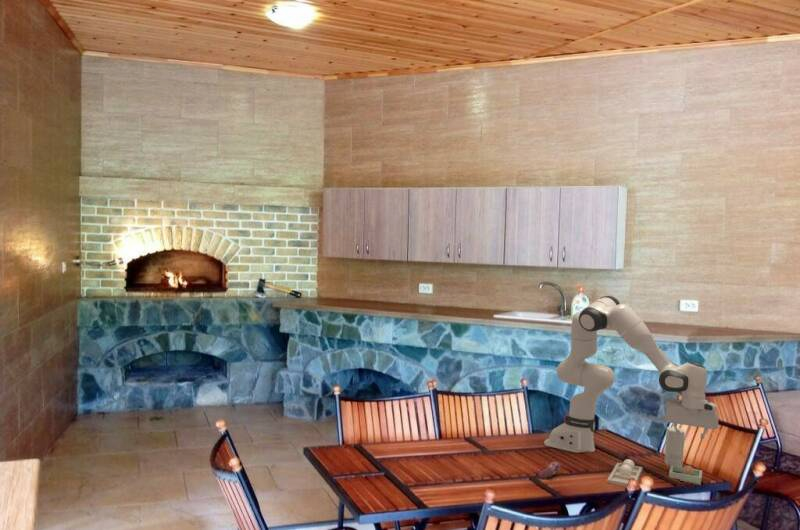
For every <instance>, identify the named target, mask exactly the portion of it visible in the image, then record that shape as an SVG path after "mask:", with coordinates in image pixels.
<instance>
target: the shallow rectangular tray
mask: <svg viewBox="0 0 800 530" xmlns="http://www.w3.org/2000/svg"><path fill="white" fill-rule="evenodd" d="M622 465H623V462H617V463H616V464H615V466H614V468H613V469H612V471H611V473H610V474H609V476H608V478H607V479H606V480H607V481H606V483H607V484H610V485H611V484H612V485H616V486H623V487H626V488H628V487H627V484H628V481H629V479H631V478H634V479H635V480H636V481H637V482H638V481H639V479H640V476H641V474H642V471H643V467H642V466H638V465H635V466H634V469H633V470H632V473H631V475H629V476H624V475H622V474H621V473H620V467H621V466H622Z"/></svg>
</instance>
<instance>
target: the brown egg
mask: <svg viewBox="0 0 800 530" xmlns="http://www.w3.org/2000/svg"><path fill="white" fill-rule="evenodd" d="M682 467H683V469H682V472H681V474H682V473H683V474H686V475H692V476H693V475H694V469H695V468H693V467H692V466H691V465H683V466H682Z"/></svg>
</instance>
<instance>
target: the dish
mask: <svg viewBox="0 0 800 530" xmlns="http://www.w3.org/2000/svg"><path fill="white" fill-rule="evenodd" d="M683 467H684V466H682V467H680V466H674V465H671V466H670V469H669V473H668V477H669V478H672V479H678V480H680V481H684V482H683V483H685V482H689V483H688V484H690V483H694V484H693V485H695V484H699V485H698V486H701V484H702V477H703V470H701V469H695V468H693V469H694V475H693V476H692V475H686V474H683V473H682V469H683ZM680 481H679V482H680Z"/></svg>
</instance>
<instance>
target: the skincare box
mask: <svg viewBox="0 0 800 530" xmlns="http://www.w3.org/2000/svg"><path fill="white" fill-rule="evenodd" d="M677 429H678V430H680V432H679V435H676V430H675V428H674V427H670V426H669V427H668V426H667V427H666V431H665V432H666V433H665V434H666V435H665V446H664V447H665V449H664V462H663V463H664V464H665V465H666V466H667V467H671V465H674V466H680V467H683V461H684V450H685V449H684V447H685V444H684V443H685V434H686V433H685V432H686V431H684V430H683V429H682V428H680V427H677Z"/></svg>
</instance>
